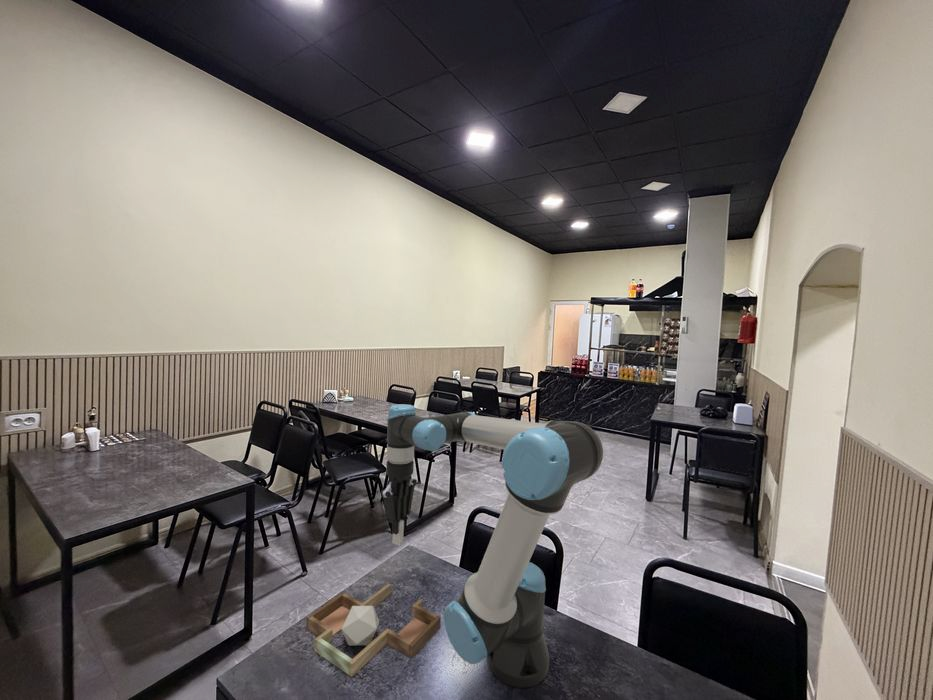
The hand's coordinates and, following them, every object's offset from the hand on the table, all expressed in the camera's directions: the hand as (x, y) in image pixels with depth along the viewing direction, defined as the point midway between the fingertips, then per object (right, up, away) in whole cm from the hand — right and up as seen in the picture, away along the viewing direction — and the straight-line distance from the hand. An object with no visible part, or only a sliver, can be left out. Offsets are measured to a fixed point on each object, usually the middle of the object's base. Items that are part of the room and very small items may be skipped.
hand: (397, 543), depth 108 cm
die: (-8, -20, -11) cm, 24 cm away
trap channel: (-5, -19, -6) cm, 21 cm away
